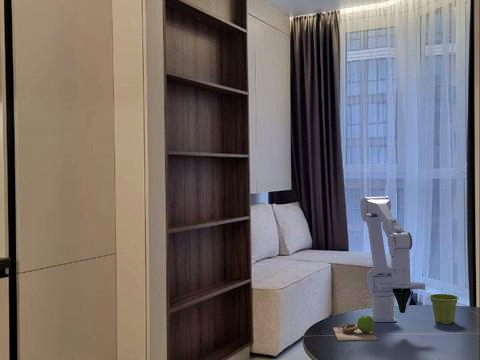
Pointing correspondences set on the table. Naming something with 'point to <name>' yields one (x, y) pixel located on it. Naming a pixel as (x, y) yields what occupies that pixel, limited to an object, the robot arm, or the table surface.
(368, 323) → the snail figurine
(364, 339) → the cork mat
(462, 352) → the table surface
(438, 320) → the plant pot
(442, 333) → the table surface
